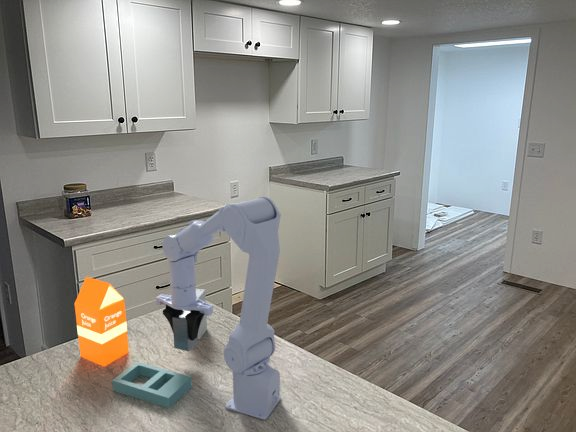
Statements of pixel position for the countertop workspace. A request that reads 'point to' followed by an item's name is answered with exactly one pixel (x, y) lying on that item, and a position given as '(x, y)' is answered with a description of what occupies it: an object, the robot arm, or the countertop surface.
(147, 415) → the countertop surface
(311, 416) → the countertop surface
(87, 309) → the orange juice
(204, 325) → the skincare box
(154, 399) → the holder
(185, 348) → the peg
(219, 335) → the countertop surface
